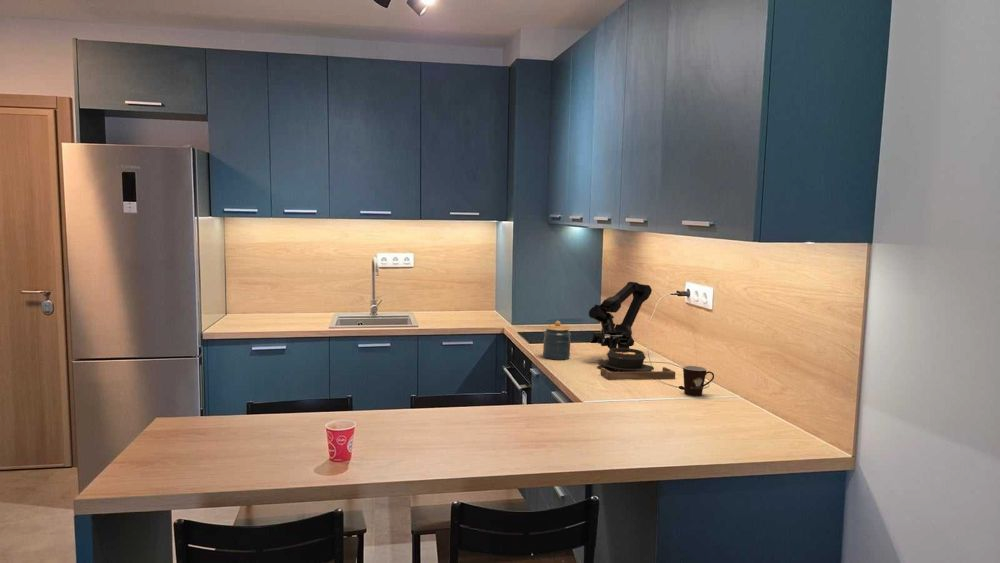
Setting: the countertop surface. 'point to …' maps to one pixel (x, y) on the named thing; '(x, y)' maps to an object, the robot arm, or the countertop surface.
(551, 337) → the canister
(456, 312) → the countertop surface
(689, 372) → the coffee mug
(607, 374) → the stop frame
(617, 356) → the casserole
